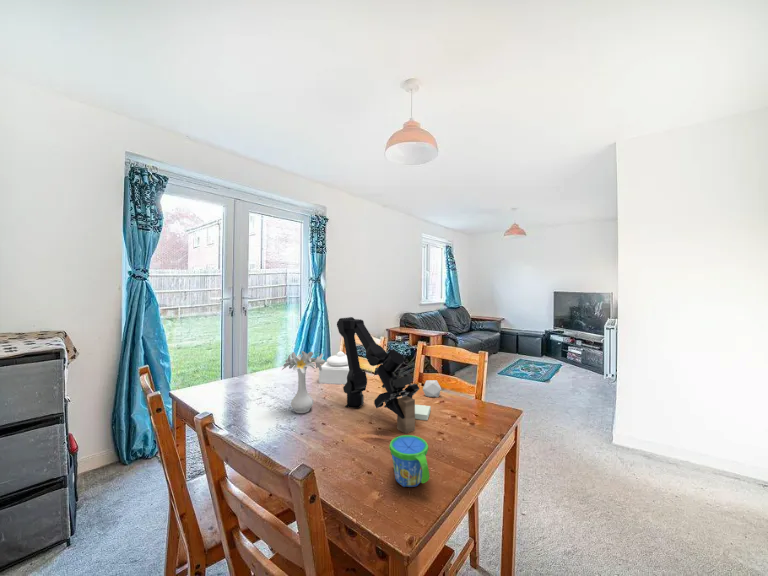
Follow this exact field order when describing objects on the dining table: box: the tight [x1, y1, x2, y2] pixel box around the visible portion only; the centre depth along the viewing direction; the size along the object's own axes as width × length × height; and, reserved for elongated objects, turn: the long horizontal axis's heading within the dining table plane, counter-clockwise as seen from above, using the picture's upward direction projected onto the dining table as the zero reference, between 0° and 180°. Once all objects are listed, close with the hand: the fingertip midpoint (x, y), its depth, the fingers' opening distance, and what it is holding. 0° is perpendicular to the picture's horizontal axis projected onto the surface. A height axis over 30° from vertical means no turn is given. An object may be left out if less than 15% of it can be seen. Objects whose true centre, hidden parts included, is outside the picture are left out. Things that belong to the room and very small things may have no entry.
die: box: [422, 379, 442, 398], centre depth 149 cm, size 8×9×10 cm
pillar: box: [396, 396, 416, 435], centre depth 115 cm, size 4×4×12 cm
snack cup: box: [388, 434, 431, 488], centre depth 88 cm, size 16×10×10 cm
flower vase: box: [281, 350, 326, 414], centre depth 135 cm, size 13×18×25 cm
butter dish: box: [318, 350, 349, 386], centre depth 177 cm, size 18×18×16 cm
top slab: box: [415, 404, 432, 421], centre depth 127 cm, size 9×9×2 cm
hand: (408, 416), depth 113 cm, fingers closed on pillar, 4 cm apart
